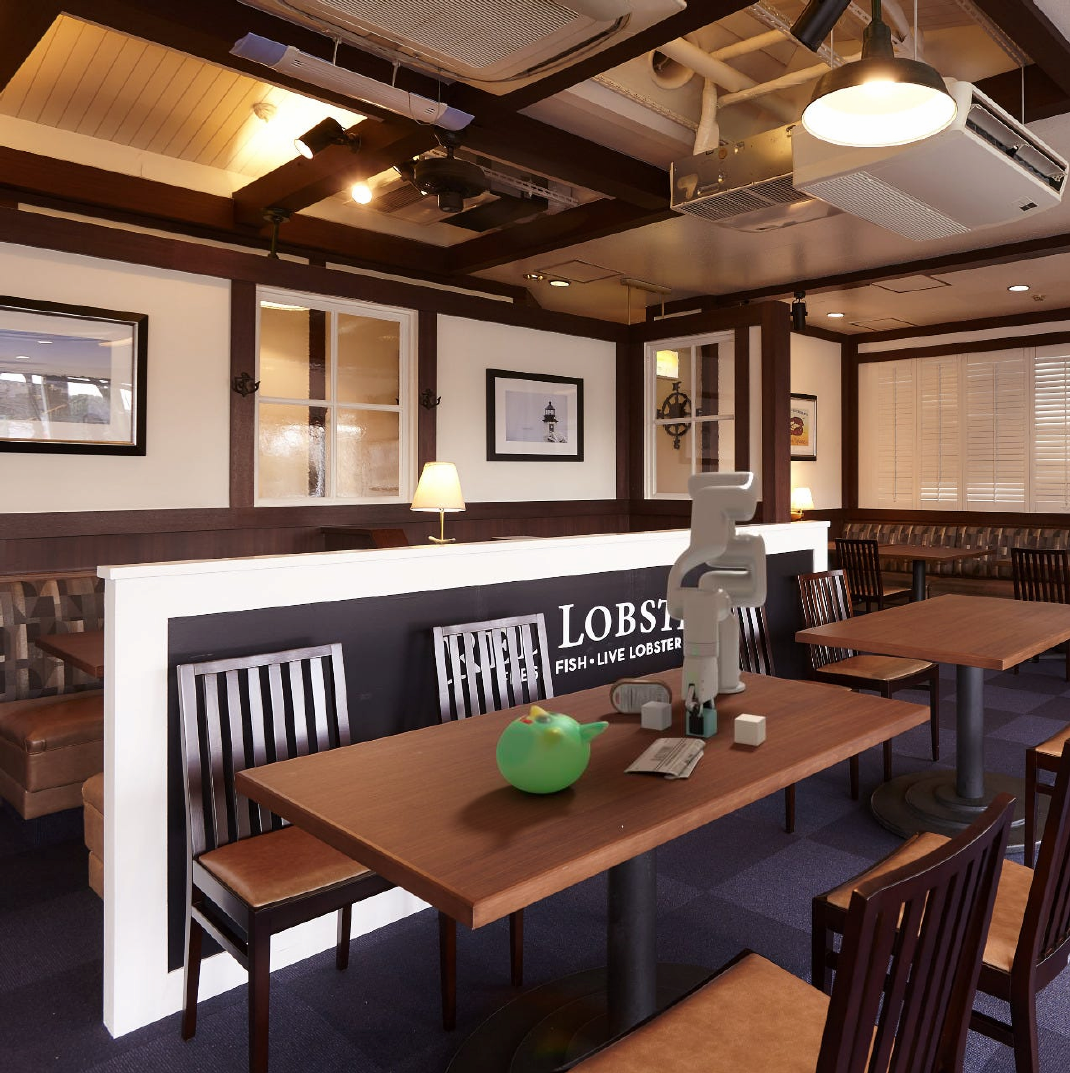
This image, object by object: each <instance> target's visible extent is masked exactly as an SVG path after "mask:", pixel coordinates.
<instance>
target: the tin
mask: <svg viewBox="0 0 1070 1073" xmlns="http://www.w3.org/2000/svg"><path fill="white" fill-rule="evenodd" d="M609 700H610V703H611V705H612V708H613V709H614V710H616V711H617V712H619V713H621V714H624V715H642V710H641V706H642V705H644V704H646V703H649V702H651V701H654V702H661V703H668V704H671V705H672V702H673V692H672V688H671V687H670V685H669V684H668V683H667V682H666V681H664V680H662V679H659V678H631V677H630V678H629V677H628V678H627V677H626V678H621V679H619V680H617V681H615V682H614V683H613V685H611V687H610V690H609Z"/></svg>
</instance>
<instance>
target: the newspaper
mask: <svg viewBox="0 0 1070 1073" xmlns="http://www.w3.org/2000/svg"><path fill="white" fill-rule="evenodd" d="M705 746H706V742H705V741H703V740H702V739H701V738H689V737H665V738H663V737H661V738H657V739H655V741H654V742H653V743H652V744H651V745H650V746H649V747H648V748H647V749H646V750H645V751H644V752H643V753H642V754H641V755H640V756H639V757H637V759H636V760H635V761H633V763H632V764H631V765H629V766H628V768H626V769H625V770H624V771H623V774H627V773H629V772H659V773H665V775H664V778H665V779H668V780H676V779H680V778H689V777H690V775H691V772H693V770H694V767H695V766H697V763H698V761H699V760H700V759H701V758H702V756H704V750H703V748H704V747H705Z"/></svg>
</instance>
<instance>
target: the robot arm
mask: <svg viewBox="0 0 1070 1073" xmlns="http://www.w3.org/2000/svg"><path fill="white" fill-rule="evenodd" d="M759 485H760V484H759V480H758V477H757V476H756V474H755V473H753V472H750V471H712V472H711V471H710V472H708V471H707V472H699V473H695V474H692V475H691V476H690V477H689V478H688V479H687V490H688V494H689V496H690V498H691V500H692V505H691V521H690V523H691V524H690V539H689V546H688V547H687V548H686V549H685V550H684V551H683V552H682V553H681V554H680V555H679V556H678V557H677V559H676V560H675V562H674V563H673V564H672V567H671V569H670V572H669V574H668V579H667V588H666V589H667V591H666V592H667V593H666V611H667V613H668V615H669V617H670V618H672V619H674V620H676V621H683V626H682V627H683V656H684V658H683V663H682V664H683V666H682V671H681V672H682V676H681V701H682V702H685V703H684V706H685V707H686V709H687V711H688V716H689V733H691V734H697V735H703V734H704V717H702V709H703V708H707V709H714V710H715V708H716V707H715V700H716V696H717V695H718V694H735V693H740V692H742V691H744V690H745V689H746V684H745V683H744V682H742V681H740V675H742V671H741V670H742V669H740V633H739V632H740V626H739V621H738V619H737V617H736V616H735V615H734V613H733V612H732V608H759V607H762V606H763V605H764V604H765V603H766V599H767V592H768V590H767V584H768V583H767V556H766V555H767V554H766V542H765V539H764V538H763V536H762V535H761V534H760V533H758V532H755V531H737V530H736V522H748V521H751V520H752V519H753V517H754V515H755V513H756V509H757V505H758V498H759V493H760V486H759ZM704 563H705V564H706V565H707V566H708V567H711V568H722V569H723V568H725V569H746V570H712V571H711V570H710V571H707V572H705V573H703V574H702V575H701V576H700V577H699V581H698V587H687V586H686V587H684V586H683V587H681V584H682V581H683V579H684V576H685V575H686V574H687V573H689V571H691V570H693V568H696V567H697V566H700V565H702V564H704ZM695 700H697V701H695ZM695 705H696V706H695ZM697 707H698V709H697Z"/></svg>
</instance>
